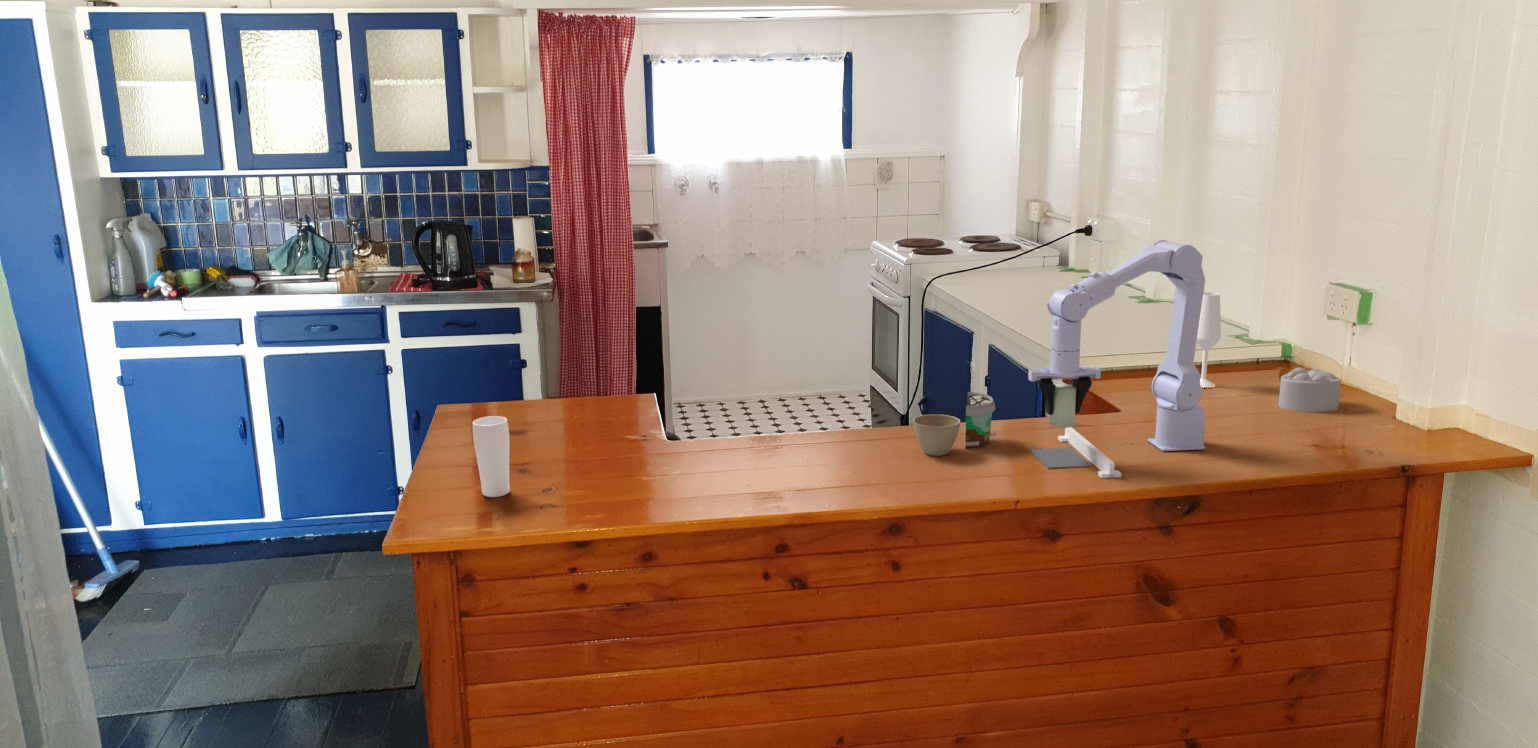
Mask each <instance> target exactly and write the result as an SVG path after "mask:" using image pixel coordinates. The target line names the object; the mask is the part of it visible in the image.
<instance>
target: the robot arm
mask: <svg viewBox="0 0 1538 748" xmlns="http://www.w3.org/2000/svg"><path fill="white" fill-rule="evenodd" d="M1202 263H1203V254H1202V253H1201V252H1200V251H1199V250H1198V249H1196V247H1194V245H1192V244H1191V245H1190V244H1181V243H1177V242H1171V241H1168V240H1165V239H1159V240H1156V241H1155V242H1153V243H1152V244H1149V245H1146V246H1144V248H1143V249H1142V250H1141V251H1140V252H1139V253H1136V255H1134V256H1132V257H1131V258H1129V259H1128V260H1126V261H1124V262H1123V263H1121V264H1120V265H1118V266H1117V267H1115V268H1114V269H1112V270H1110V271H1109V272H1104V271H1092V272H1090V273H1088V277H1087V278H1084V279H1083V280H1081V281H1079V282H1077V283H1072V284H1070V285H1069V288H1068V289H1058V290H1056V291H1055V292H1054V293H1052V295H1051V297H1050V299H1049V302H1047V303H1046V307H1047V310H1048V312H1049V314H1050V315H1051V343H1050V344H1051V346H1050V367H1046V368H1038V369H1029V370H1028V375H1027V376H1028V377H1027V378H1028V380H1029V381H1030V382H1037V385H1038V387H1039V389H1040V392H1041V394H1042V397H1043V400H1044V406H1045V411H1046V412H1045V413H1046V414H1048V415H1049V416H1050V415H1053V398H1054V392H1055V387H1056V386H1055V384H1054V381H1053V380H1055V381H1057V380H1072V385H1074V386H1076V408H1075V415H1077V414H1080V412H1081V408H1082V404H1083V402H1084V400H1085V397H1086V395H1087V393H1088V392H1089V390H1090V388H1091V387H1092V384H1093V381H1092V380H1091V379H1097V380H1098V379H1101V371H1102V370H1101V368H1099V367H1096V366H1095V367H1089V366H1087V367H1086V366H1085V367H1084V366H1080V357H1081V356H1080V355H1081V338H1082V337H1081V336H1082V335H1081V333H1082V320H1083V319H1084V318H1085V317H1086V316H1087V313H1088V312H1089V310H1090V309H1092V308H1094V307H1096V306H1098V305H1099V304H1101V303H1103V302H1104V301H1107V300H1108V299H1110V298H1112V297H1114V296H1115V293H1116V289H1117V288H1118V287H1119V286H1120V287H1121V286H1122V285H1124V284H1126V283H1128V282H1130V281H1132V280H1134V279H1137V278H1138V277H1141V276H1143V275H1145V274H1147V273H1149V272H1155V273H1156V272H1157V273H1161V274H1162V275H1164V276H1166V277H1167V278H1168V280H1169V281H1170V282H1171V283H1172V284H1173V285H1174V287H1175V292H1174V298H1173V299H1174V300H1173V308H1172V313H1171V314H1172V315H1171V321H1170V329H1169V335H1168V342H1167V343H1168V344H1167V350H1166V357H1165V360H1164V361H1162V362H1161V363H1160V364H1158V366H1157V371H1156V373H1155V375H1154V376H1153V379H1152V380H1151V381H1152V382H1151V392H1152V394H1153V395H1154V397H1156V400H1155V401H1156V403H1157V407H1156V408H1157V409H1156V420H1155V421H1156V422H1155V437H1152V438H1151V437H1150V438H1149V437H1148V438H1147V441H1148V442H1150V443H1151V444H1152V445H1153V446H1155V447H1156V448H1157V449H1159V450H1160V451H1161V452H1173V451H1174V452H1175V451H1194V450H1195V451H1197V450H1200V451H1201V450H1205V449H1206V446H1204V445H1205V433H1206V432H1205V431H1206V414H1205V410H1204V409H1203V407H1202V406H1201V405H1200V404H1199V403H1200V401H1201V399H1202V396H1203V389H1202V388H1201V385H1200V379H1201V372H1200V371H1199V370H1198V368H1197V367H1196V365H1195V364H1194V363H1195V354H1196V349H1197V348H1196V346H1197V343H1196V341H1197V334H1198V327H1199V320H1200V313H1201V307H1202V300H1203V293H1204V292H1205V284H1206V277H1205V273H1204V269H1203V264H1202Z"/></svg>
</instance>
